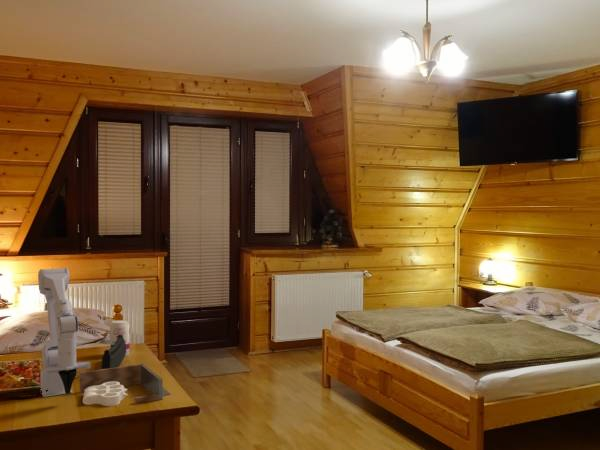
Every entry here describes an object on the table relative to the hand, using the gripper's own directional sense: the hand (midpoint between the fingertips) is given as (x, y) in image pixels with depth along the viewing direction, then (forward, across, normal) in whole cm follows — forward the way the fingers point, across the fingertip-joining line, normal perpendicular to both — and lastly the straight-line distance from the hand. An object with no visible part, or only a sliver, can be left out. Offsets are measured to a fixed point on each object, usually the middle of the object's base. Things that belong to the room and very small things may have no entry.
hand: (67, 392), depth 195 cm
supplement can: (+4, +32, +56) cm, 64 cm away
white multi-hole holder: (+4, +13, 0) cm, 13 cm away
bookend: (+4, +30, 0) cm, 30 cm away
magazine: (+4, +24, +37) cm, 45 cm away
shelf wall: (+4, +18, 0) cm, 18 cm away
